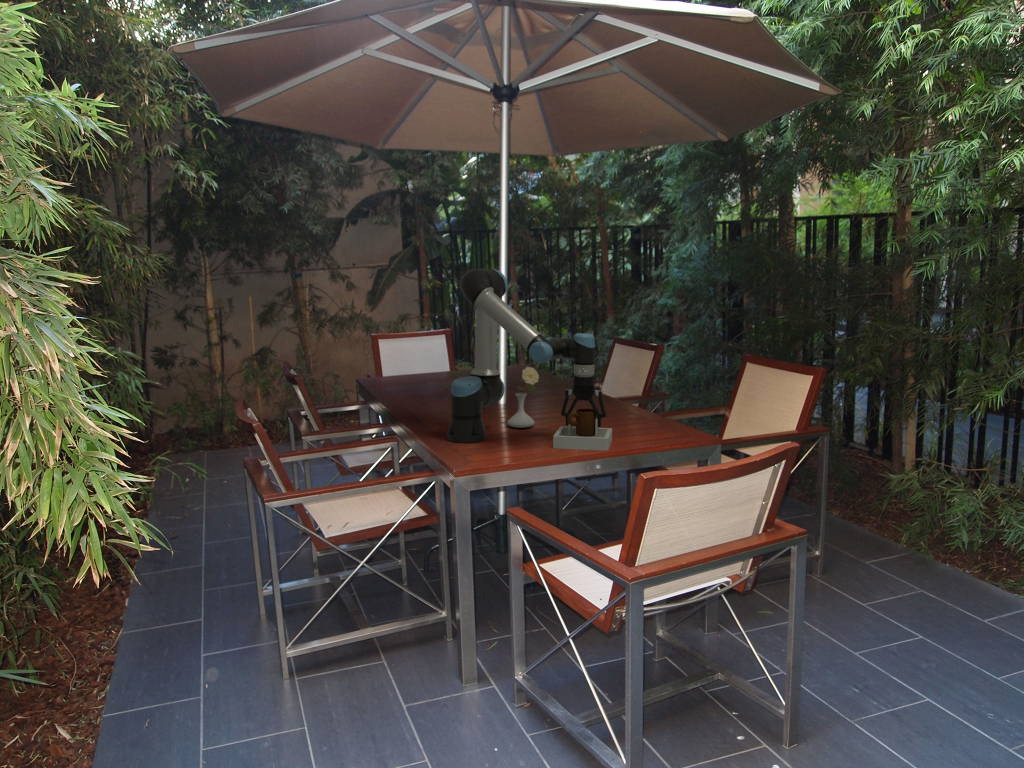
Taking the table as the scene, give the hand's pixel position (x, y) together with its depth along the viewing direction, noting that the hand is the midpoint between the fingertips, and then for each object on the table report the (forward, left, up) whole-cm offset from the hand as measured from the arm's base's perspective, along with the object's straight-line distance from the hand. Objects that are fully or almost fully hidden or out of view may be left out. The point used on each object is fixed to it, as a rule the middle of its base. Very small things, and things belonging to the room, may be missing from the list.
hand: (583, 434), depth 300 cm
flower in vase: (-28, +26, -4) cm, 38 cm away
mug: (-1, 0, -1) cm, 1 cm away
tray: (0, 0, -3) cm, 3 cm away
